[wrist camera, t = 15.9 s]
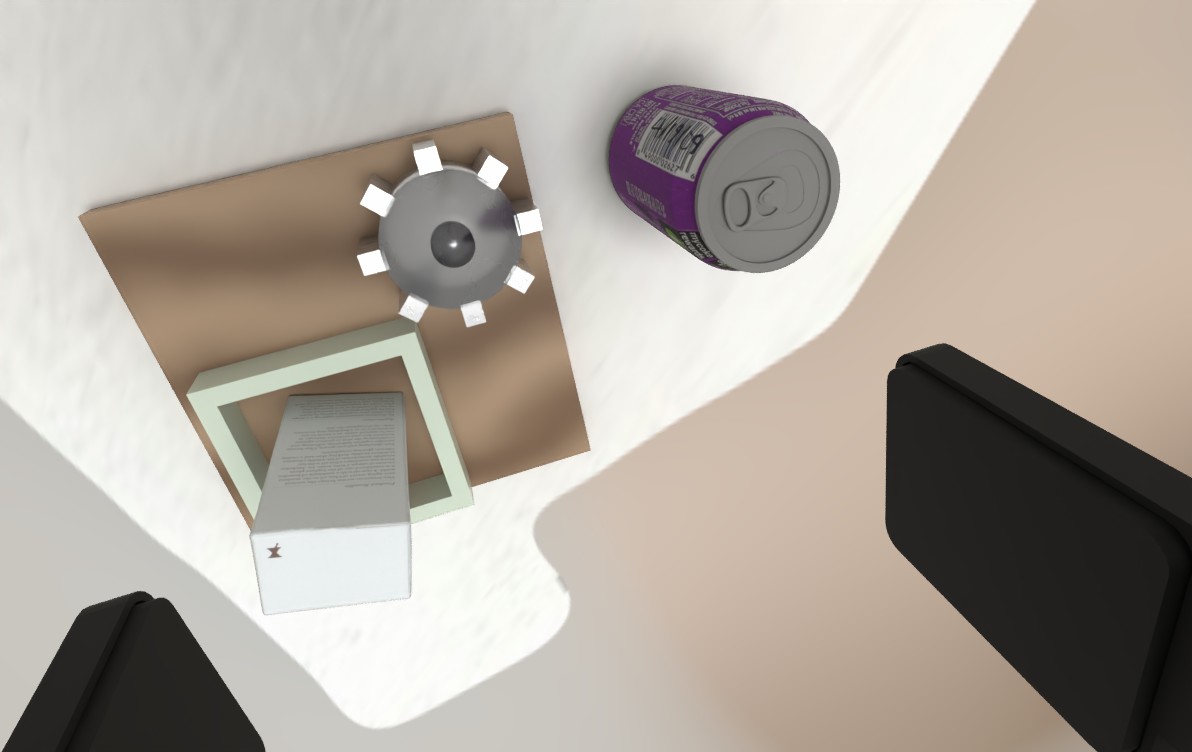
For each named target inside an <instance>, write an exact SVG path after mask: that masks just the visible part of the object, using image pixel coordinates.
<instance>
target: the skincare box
mask: <svg viewBox="0 0 1192 752" xmlns="http://www.w3.org/2000/svg"><path fill="white" fill-rule="evenodd" d="M250 541H251V546H252V552H253V557H254V563H255V569H256V575H257V581H258V587H259V593H260V599H261V605H262V611H263V614H264V615H274V614H281V613H288V612H297V611H306V610H314V609H323V608H332V607H340V606H349V605H357V604H366V603H374V602H383V601H392V600H401V599H409V598H410V597H411V518H410V504H409V488H408V468H407V447H406V423H405V400H404V395H403V393H401V392H397V393H370V394H338V395H308V396H289V397H288V400H287V403H286V407H285V410H284V414H283V418H282V421H281V425H280V429H279V433H278V437H277V439H276V443H275V446H274V450H273V453H272V457H271V461H270V465H269V468H268V472H267V476H266V479H265V483H264V487H263V490H262V494H261V498H260V502H259V506H258V510H257V513H256V516H255V519H254V523H253V526H252V529H251V532H250Z"/></svg>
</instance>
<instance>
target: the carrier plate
mask: <svg viewBox="0 0 1192 752" xmlns="http://www.w3.org/2000/svg"><path fill="white" fill-rule="evenodd" d="M430 138H433V140H434V143H435V146H436V149H437V153H438V156H439V159H440V160H454V161H459V162H464V163H467V164H469V165H472V164H473V162H474V160H475V158H476V157H477V155H478V153H479V151H480V149H481V148H482V147H484V148H485V149H487V150H488V151H490V152H491V153H493V154H495V155H496V156H498V157H499V158H500V159H501V160H502V161H503V162H504V163H505V164H506V165H507V167H508V169H507V170H506V172H505V174H504V176H503V177H502V179H501V181H500V183H499V184H498V186H499V187H500V188H501V190H502V191H503V193H504V194H505V196H506V197H507V198H508V200H509V201H513V200H517V199H521V198H525V197H528V198H529V199H530V200H531V201H532V203H533V200H532V196H531V192H530V187H529V183H528V179H527V175H526V170H525V166H524V162H523V157H522V153H521V149H520V144H519V140H518V136H517V132H516V127H515V123H514V119H513V115H512V114H511V113H509V112H505V113H501V114H497V115H493V116H488V117H484V118H480V119H476V120H471V121H467V122H463V123H458V124H454V125H450V126H446V127H441V128H437V129H433V130H429V131H424V132H420V133H416V134H412V135H407V136H403V137H399V138H395V139H390V140H386V141H382V142H377V143H373V144H369V145H365V146H360V147H356V148H352V149H348V150H343V151H339V152H335V153H331V154H326V155H322V156H318V157H313V158H309V159H305V160H301V161H296V162H292V163H288V164H284V165H279V166H275V167H271V168H267V169H262V170H258V171H254V172H249V173H245V174H241V175H237V176H232V177H228V178H224V179H220V180H215V181H211V182H207V183H203V184H198V185H194V186H190V187H185V188H181V189H177V190H173V191H168V192H164V193H160V194H156V195H151V196H147V197H143V198H139V199H134V200H130V201H126V202H121V203H117V204H113V205H109V206H104V207H100V208H96V209H92V210H89V211H88V212H86V213H84V214H82V215H80V216H79V217H78V218H79V220H80V221H81V223H82V225H83V227H84V229H85V230H86V232H87V234H88V236H89V238H90V240H91V241H92V243H93V245H94V247H95V249H96V250H97V252H98V254H99V256H100V258H101V260H102V261H103V263H104V265H105V267H106V269H107V270H108V272H109V274H110V276H111V278H112V279H113V281H114V283H115V285H116V287H117V289H118V290H119V292H120V294H121V296H122V298H123V299H124V301H125V303H126V305H127V307H128V309H129V310H130V312H131V314H132V316H133V318H134V319H135V321H136V323H137V325H138V327H139V329H140V330H141V332H142V334H143V336H144V338H145V339H146V341H147V343H148V345H149V347H150V349H151V350H152V352H153V354H154V356H155V358H156V359H157V361H158V363H159V365H160V367H161V368H162V370H163V372H164V374H165V376H166V378H167V379H168V381H169V383H170V385H171V387H172V388H173V390H174V392H175V394H176V396H177V398H178V399H179V401H180V403H181V405H182V407H183V408H184V410H185V412H186V414H187V416H188V418H189V419H190V421H191V423H192V425H193V427H194V428H195V430H196V432H197V434H198V436H199V438H200V439H201V441H202V443H203V445H204V447H205V448H206V450H207V452H208V454H209V456H210V457H211V459H212V461H213V463H214V465H215V467H216V468H217V470H218V472H219V474H220V476H221V477H222V479H223V481H224V483H225V485H226V487H227V488H228V490H229V492H230V494H231V496H232V497H233V499H234V501H235V503H236V505H237V507H238V508H239V510H240V512H241V514H242V516H243V517H244V519H245V521H246V523H247V525H248V527H249V528H250V530H251V529H252V526H253V523H254V519H253V517H252V515H251V513H250V512H249V510H248V508H247V506H246V504H245V502H244V501H243V499H242V497H241V495H240V493H239V491H238V489H237V488H236V486H235V484H234V482H233V480H232V478H231V477H230V475H229V473H228V471H227V469H226V467H225V465H224V464H223V462H222V460H221V458H220V456H219V454H218V453H217V451H216V449H215V447H214V445H213V443H212V442H211V440H210V438H209V436H208V434H207V432H206V430H205V429H204V427H203V425H202V423H201V421H200V419H199V418H198V416H197V414H196V412H195V410H194V408H193V407H192V405H191V403H190V401H189V399H188V397H187V395H186V394H187V392H188V391H189V389H190V387H191V386H192V384H193V382H194V381H195V379H196V377H197V376H198V374H199V373H200V372H204V371H208V370H211V369H215V368H219V367H222V366H226V365H230V364H233V363H237V362H241V361H245V360H248V359H252V358H256V357H259V356H263V355H267V354H270V353H274V352H278V351H282V350H285V349H289V348H293V347H296V346H300V345H304V344H307V343H311V342H315V341H318V340H322V339H326V338H330V337H333V336H337V335H341V334H344V333H348V332H352V331H355V330H359V329H363V328H367V327H370V326H374V325H378V324H381V323H385V322H389V321H392V320H396V319H400V318H403V317H405V316H403V315H401V314H399V292H400V290H401V288H400V287H399V286H398V285H397V284H396V283H395V282H394V281H393V279H392V278H391V277H390V275H389V273H388V272H387V270H386V271H382V272H378V273H374V274H370V275H366V276H364V274H363V271H362V268H361V265H360V263H359V260H358V257H357V252H358V247H359V242H360V239H363V238H367V237H371V236H375V235H379V223H380V214H378V213H376V212H374V211H372V210H370V209H369V208H367V207H365V206H363V205H361V204H360V202H361V198H362V193H363V190H364V188H365V186H366V185H367V183H368V181H369V179H370V177H371V175H372V173H374V174H376V175H377V176H379V177H381V178H383V179H384V180H386V181H388V182H390V183H391V184H394V183H395V181H396V180H397V179H398V178H399V177H400V176H402V175H403V174H404V173H405V172H407V171H408V170H410V169H411V168H413V167H415V166H417V162H416V159H415V156H414V152H413V146H412V143H414V142H418V141H422V140H426V139H430ZM520 257H521V258H522V259H524V260H525V261H526V262H527V264H528V266H529V268H530V269H531V271H532V273H533V274H534V276H535V278H534V279H533V281H532V282H531V284H530V286H529V287H528V289H527V290H526V292H525V294H524V293H522V292H520V291H518V290H517V289H515V288H513V287H511V286H509V285H507V284H506V285H505V286H504V287H503V288H502V289H501V290H500V291H499V292H498V293H497V294H495V295H494V296H492V297H491V298H489V299H488V300H486V301H484V302H482V303H481V305H482V309H483V312H484V316H485V319H486V322H485V323H481V324H477V325H474V326H470V327H467V326H466V323H465V320H464V317H463V313H462V310H461V308H459V309H444V308H438V307H433V306H430V305H428V306H427V308H426V310H425V311H424V313H423V315H422V316H421V318H420V320H419V322H418V323H417V325H418V328H419V331H420V334H421V337H422V340H423V343H424V346H425V349H426V352H427V354H428V357H429V360H430V363H431V366H432V369H433V372H434V375H435V378H436V381H437V384H438V387H439V390H440V393H441V396H442V398H443V401H444V404H445V407H446V410H447V413H448V416H449V419H450V422H451V425H452V428H453V431H454V434H455V437H456V440H457V443H458V445H459V448H460V451H461V454H462V457H463V460H464V463H465V466H466V469H467V472H468V475H469V478H470V481H471V487H474V486H477V485H480V484H483V483H487V482H490V481H493V480H496V479H500V478H503V477H506V476H509V475H513V474H516V473H519V472H522V471H526V470H529V469H532V468H535V467H539V466H542V465H545V464H548V463H551V462H555V461H558V460H561V459H564V458H568V457H571V456H574V455H577V454H581V453H584V452H587V451H590V445H589V441H588V437H587V432H586V428H585V424H584V420H583V415H582V411H581V407H580V402H579V398H578V394H577V389H576V385H575V381H574V377H573V372H572V368H571V364H570V359H569V355H568V351H567V346H566V342H565V338H564V334H563V329H562V325H561V321H560V316H559V312H558V308H557V303H556V299H555V295H554V291H553V286H552V282H551V278H550V273H549V269H548V265H547V260H546V256H545V252H544V248H543V243H542V239H541V235H540V230H539V231H535V232H532V233H528V234H524V235H522V250H521V255H520ZM397 392H401V393H403V395H404V400H405V423H406V447H407V468H408V484H411V483H415V482H418V481H421V480H424V479H428V478H431V477H434V476H438V475H441V474H444V472H443V469H442V466H441V463H440V461H439V458H438V455H437V452H436V450H435V447H434V444H433V441H432V438H431V436H430V433H429V430H428V427H427V425H426V422H425V419H424V416H423V414H422V411H421V408H420V405H419V402H418V400H417V397H416V394H415V391H414V389H413V386H412V383H411V380H410V378H409V375H408V372H407V369H406V366H405V364H404V361H403V358H402V355H401V356H397V357H393V358H390V359H386V360H383V361H379V362H375V363H372V364H368V365H365V366H361V367H357V368H354V369H350V370H347V371H343V372H339V373H336V374H332V375H329V376H325V377H321V378H318V379H314V380H311V381H307V382H303V383H300V384H296V385H293V386H289V387H285V388H282V389H278V390H275V391H271V392H267V393H264V394H260V395H257V396H253V397H249V398H246V399H242V400H239V401H237V403H238V405H239V407H240V409H241V411H242V413H243V415H244V417H245V419H246V421H247V423H248V425H249V427H250V429H251V431H252V433H253V435H254V437H255V439H256V441H257V443H258V445H259V447H260V449H261V451H262V452H263V454H264V456H265V458H266V460H267V462H268V464H269V465H270V461H271V457H272V453H273V450H274V446H275V443H276V439H277V437H278V433H279V429H280V425H281V421H282V418H283V414H284V410H285V407H286V403H287V400H288V397H289V396H308V395H338V394H370V393H397Z"/></svg>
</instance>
